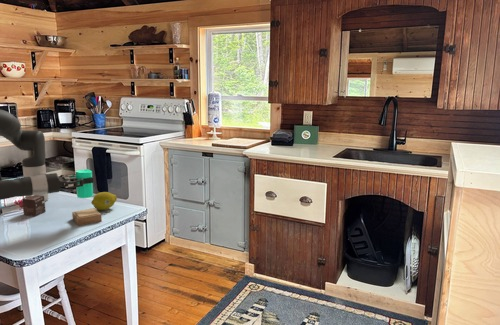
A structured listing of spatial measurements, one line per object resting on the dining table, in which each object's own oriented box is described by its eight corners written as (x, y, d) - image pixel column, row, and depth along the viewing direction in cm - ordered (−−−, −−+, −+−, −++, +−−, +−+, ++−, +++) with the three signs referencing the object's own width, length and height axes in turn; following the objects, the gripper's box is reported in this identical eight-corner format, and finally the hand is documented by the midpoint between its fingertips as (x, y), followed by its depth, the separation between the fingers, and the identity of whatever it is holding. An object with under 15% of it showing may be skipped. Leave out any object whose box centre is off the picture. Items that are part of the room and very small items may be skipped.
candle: (81, 199, 151) (79, 169, 148) (74, 195, 154) (72, 167, 152) (95, 196, 155) (94, 167, 153) (88, 192, 159) (87, 165, 156)
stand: (72, 218, 158) (72, 211, 157) (95, 214, 163) (94, 207, 163) (78, 225, 151) (77, 218, 150) (101, 221, 156) (101, 213, 156)
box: (35, 216, 159) (34, 200, 158) (23, 215, 160) (21, 198, 159) (46, 211, 165) (44, 195, 164) (33, 210, 166) (32, 194, 165)
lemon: (92, 213, 164) (91, 196, 163) (90, 208, 171) (89, 191, 169) (118, 210, 169) (117, 193, 167) (116, 205, 176) (115, 188, 174)
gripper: (47, 178, 138) (96, 173, 149) (40, 170, 149) (85, 166, 160) (49, 198, 140) (97, 191, 150) (41, 189, 151) (86, 183, 161)
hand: (91, 178), depth 155 cm, fingers closed on candle, 4 cm apart
